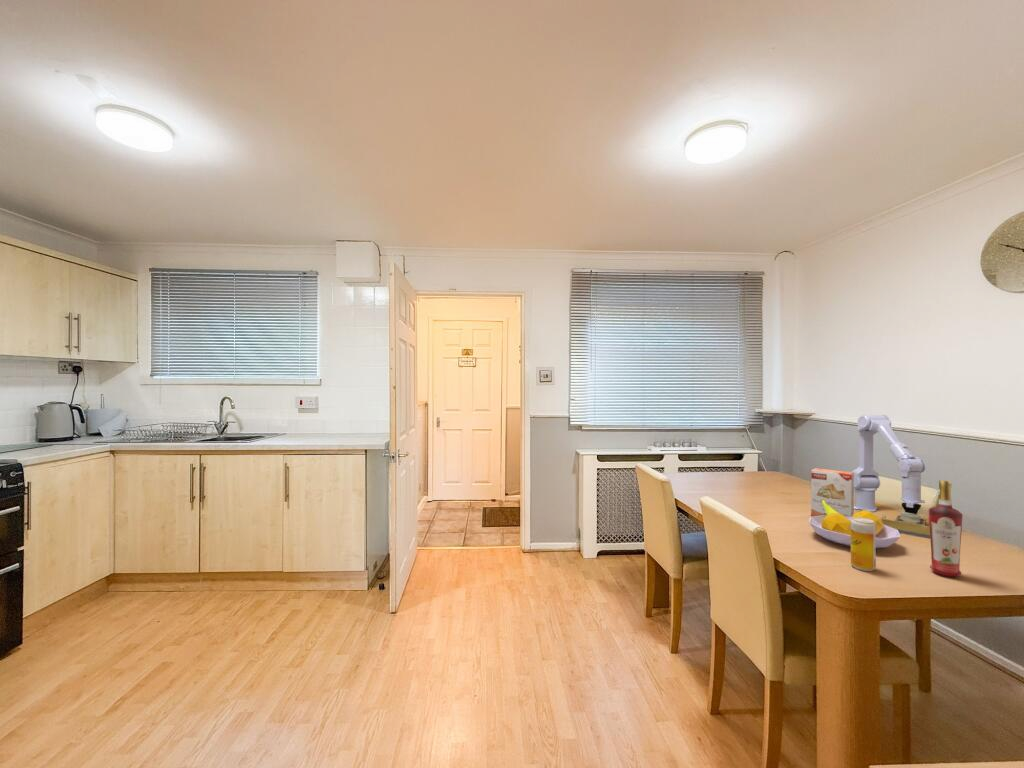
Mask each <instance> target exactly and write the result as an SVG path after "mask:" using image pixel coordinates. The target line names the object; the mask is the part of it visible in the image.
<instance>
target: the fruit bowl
mask: <svg viewBox="0 0 1024 768" xmlns="http://www.w3.org/2000/svg"><path fill="white" fill-rule="evenodd" d="M822 503H823V506H824V509H825V512H826V514H827V515H822V516H814V517H811V516H809V519H808V523H809V526H810V527H811V528H812V529H813V531H814V532H815V533H816V534H818V535H819V536H821V537H823V538H824V539H826V540H828V541H830V542H831V543H836V544H839V545H844V546H846V547H850V548H851V520H852V518H866V519H870V520H872V521H874V523H875V525H876V549H880V548H881V549H882V548H888V547H890V546H892V545H893V544H895V543H896V542H897V541H898V540H899V539H900V538H901V535H900V534H901V533H899V532H898V530H896V529H894V528H891V527H889V526H886V525H884V524H883V523H882V519H881V518H882V517H880V516H879V515H877V514H876V513H875V512H872V511H869V510H860V511H858V512H854V514H853V516H852V517H845V516H843V515H842V514H840V513H839V512H838V511H836V510H835V509H833V508H832V507H831V506H829V505H827V504H826V502H825V500H822Z"/></svg>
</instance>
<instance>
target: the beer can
mask: <svg viewBox="0 0 1024 768" xmlns="http://www.w3.org/2000/svg"><path fill="white" fill-rule="evenodd" d="M876 549H877V548H876V525H875V523H874V521H872V520H870V519H866V518H852V520H851V547H850V565H852V567H853V568H854V569H857V570H859V571H864V572H873V571H874V570H875V569H877V564H876V563H877V562H876V561H877V560H876V559H877V556H876V555H877V553H876Z"/></svg>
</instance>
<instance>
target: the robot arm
mask: <svg viewBox="0 0 1024 768" xmlns="http://www.w3.org/2000/svg"><path fill="white" fill-rule="evenodd" d="M857 432H858V441H857V442H858V444H857V445H858V446H857V447H858V448H857V450H858V451H857V452H858V456H857V458H858V459H857V463H858V466H857V468H855V469H853V470H852V471H851V472H852V473H854V510H860V511H862V510H869V511H871V512H873V513H875V512H876V511H877V509H879V508H878V506H876V491H877V490H878V489H879V488H880V487H881V480H880V477H879V472H877V470H874V435H876V434H877V433H879V434H880V435H881V436H882V438H884V440H885V441H886V442H887V443H888V444H889V446H890V447H889V451H890V452H891V454H892V455H893V456H894V458H895V459H896V461H897V462H898V463H897V468H898V470H899V474H900V476H901V498H900V500H901V501H902V502H901V507H902V508H903V510H904V512H906V513H913V514H918V513H919V510H920V509H921V507H922V505H921V504H925V503H926V501H925V500H923V499H922V473H923V472H925V470H926V463H925V462H924V460H923V459H922V458H920V457H918V456H916V455H914V453H913V452H912V451H911V449H910V448H909V447H908V445H907V444H906V443H903V442H901V441H900V440H899V438H898V437H897V435H896V433H895V432H894V430H893V428H892V421H891V420H890V418H889V417H888V416H887V415H886V414H881V415H880V414H879V415H877V414H876V415H875V414H871V415H870V414H868V415H867V414H862V415H860V416H859V417H858V418H857Z"/></svg>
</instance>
